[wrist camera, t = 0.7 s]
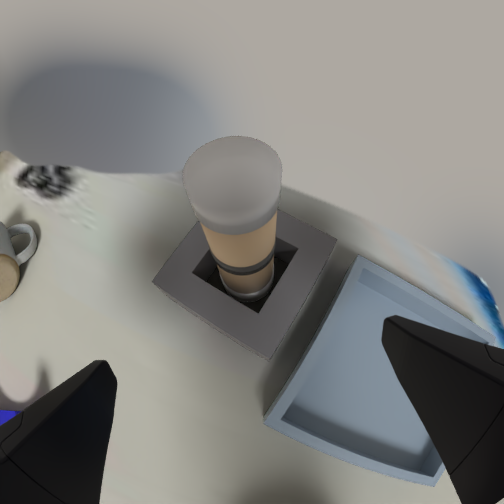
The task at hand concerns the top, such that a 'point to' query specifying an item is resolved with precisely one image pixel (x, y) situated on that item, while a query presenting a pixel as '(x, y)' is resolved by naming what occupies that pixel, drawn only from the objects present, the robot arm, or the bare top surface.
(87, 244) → the top surface
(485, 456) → the robot arm
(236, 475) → the top surface
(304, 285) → the fuse holder
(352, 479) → the top surface
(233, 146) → the fuse
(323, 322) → the parts tray
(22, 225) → the ceramic mug
